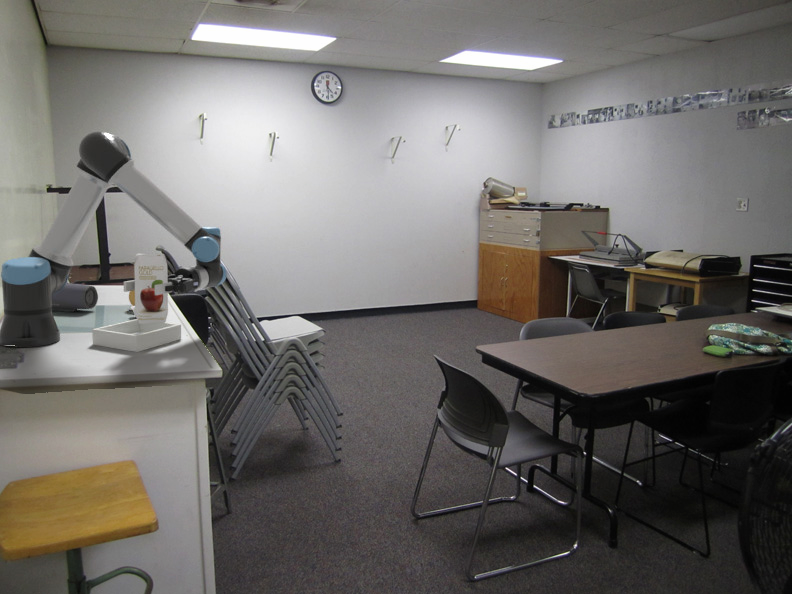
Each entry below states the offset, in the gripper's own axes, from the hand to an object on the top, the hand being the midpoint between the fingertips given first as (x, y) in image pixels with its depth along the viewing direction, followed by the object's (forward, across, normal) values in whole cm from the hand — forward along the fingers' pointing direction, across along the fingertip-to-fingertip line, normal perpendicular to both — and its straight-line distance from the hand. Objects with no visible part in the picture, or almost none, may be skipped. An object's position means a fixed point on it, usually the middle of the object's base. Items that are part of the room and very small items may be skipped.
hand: (140, 288), depth 163 cm
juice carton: (-4, 0, -10) cm, 11 cm away
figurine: (-38, +30, -18) cm, 51 cm away
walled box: (-9, +8, -18) cm, 22 cm away
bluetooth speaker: (-35, +62, -18) cm, 73 cm away
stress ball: (-49, +39, -18) cm, 65 cm away
